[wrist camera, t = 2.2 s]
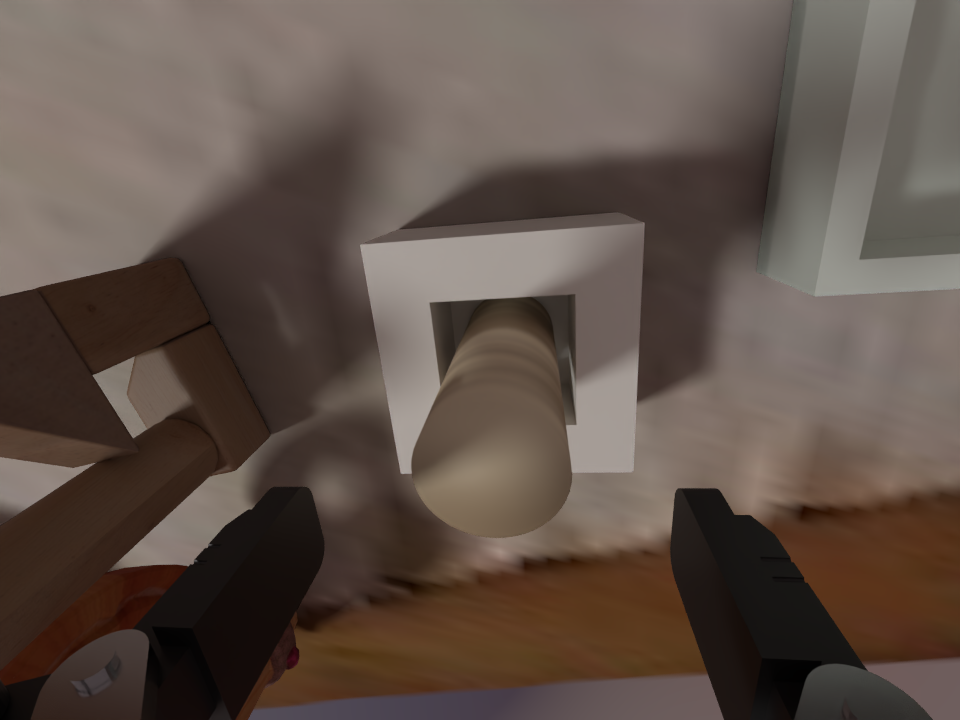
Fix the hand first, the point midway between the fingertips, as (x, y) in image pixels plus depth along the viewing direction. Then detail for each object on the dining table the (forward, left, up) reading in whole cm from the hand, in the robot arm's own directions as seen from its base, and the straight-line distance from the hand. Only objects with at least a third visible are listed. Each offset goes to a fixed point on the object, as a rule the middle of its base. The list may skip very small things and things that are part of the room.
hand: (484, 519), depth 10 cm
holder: (0, 0, -13) cm, 13 cm away
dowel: (0, 0, -12) cm, 12 cm away
